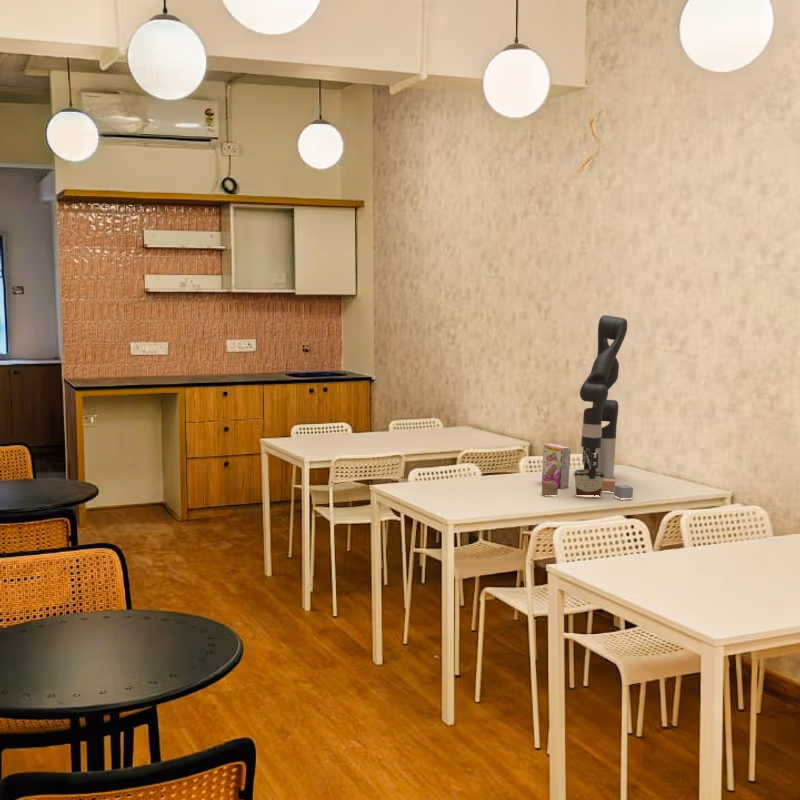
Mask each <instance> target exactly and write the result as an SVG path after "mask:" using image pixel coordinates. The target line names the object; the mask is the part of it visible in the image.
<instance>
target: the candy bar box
mask: <svg viewBox="0 0 800 800" xmlns="http://www.w3.org/2000/svg"><path fill="white" fill-rule="evenodd" d="M542 454H543V455H542V474H541V484H542V483H543V481H552V482H556V483H557V484H558V487H559V488H558V489H563V488H562V487H567V488H569V485H570V484H569V483H570V482H569V479H570V461H571V448H570V447H568V446H567V447H566V446H563V445H559V444H556V443H555V444H554V443H545V444H543V453H542Z"/></svg>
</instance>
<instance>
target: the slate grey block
mask: <svg viewBox="0 0 800 800" xmlns="http://www.w3.org/2000/svg"><path fill="white" fill-rule="evenodd" d="M633 493H634V487H632V486H630V485H628V484H615V491H614V495H615V496H617V497H619V498H631V497H632V498H633V496H634V495H633ZM614 495H613V496H614Z"/></svg>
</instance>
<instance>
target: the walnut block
mask: <svg viewBox="0 0 800 800" xmlns="http://www.w3.org/2000/svg"><path fill="white" fill-rule="evenodd" d="M541 484H542V485H541V494H542V493H543V494H544V495H557V496H558V489H559V488H558V484H557V483H556V482H552V481H543V483H542V482H541ZM543 494H542V495H543ZM544 495H543V496H544Z"/></svg>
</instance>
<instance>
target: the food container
mask: <svg viewBox="0 0 800 800" xmlns="http://www.w3.org/2000/svg"><path fill="white" fill-rule="evenodd" d="M572 476H573V477H574V480H575V484H574V485H575V487H574V488H575V496H576V495H594V496H595V495H599V496H601V497H602V493H601V492H602V486H603V480H604V478H605V474H604V472H602V471H598V470H596V471H595V479H590V478H589V469H584V468H582V469H576V470H575V471H574V472H573V475H572Z"/></svg>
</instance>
